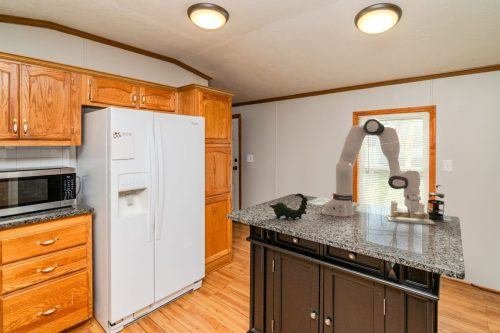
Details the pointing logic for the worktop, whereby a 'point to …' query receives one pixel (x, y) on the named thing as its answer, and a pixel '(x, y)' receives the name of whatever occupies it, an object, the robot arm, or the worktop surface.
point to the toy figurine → (283, 210)
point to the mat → (410, 220)
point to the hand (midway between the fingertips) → (410, 215)
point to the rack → (394, 208)
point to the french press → (436, 206)
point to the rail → (407, 214)
